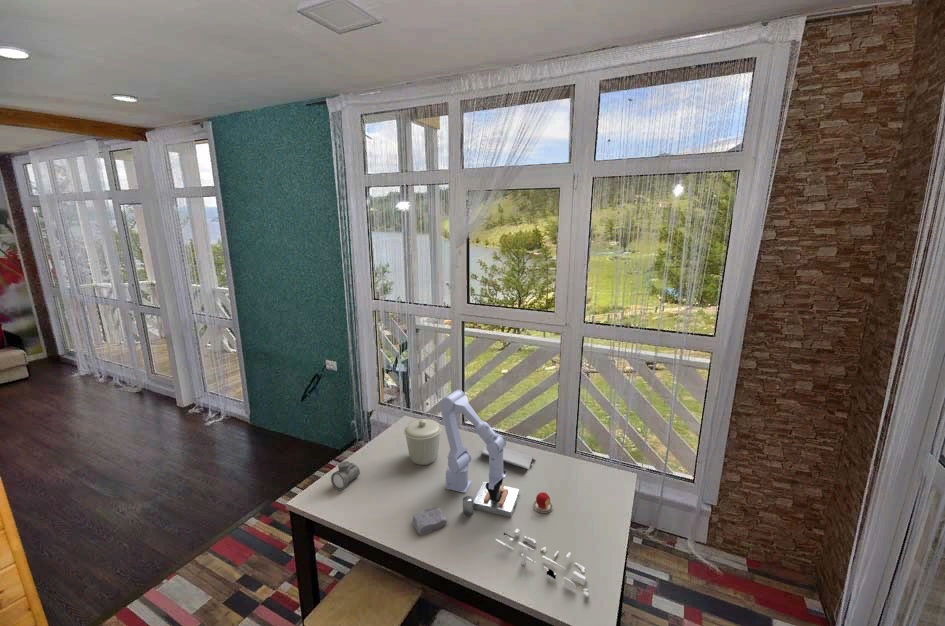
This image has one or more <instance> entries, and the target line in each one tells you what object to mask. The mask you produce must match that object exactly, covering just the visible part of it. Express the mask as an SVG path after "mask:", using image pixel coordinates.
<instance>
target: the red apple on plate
mask: <svg viewBox="0 0 945 626" xmlns="http://www.w3.org/2000/svg"><path fill="white" fill-rule="evenodd" d="M535 498H536V499H535V500H534V502H533V504H532V506H533V508H534V510H535V511H536V512H538V513H540V514H541V513H542V514H546V513H550V512H552V510H553V508H554V506H553V502H551V498H550V495H549V494H548V493H547V492H546V491H545V492H543V491H542V492H539V493H537V495H536V497H535Z"/></svg>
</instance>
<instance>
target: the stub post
mask: <svg viewBox="0 0 945 626" xmlns="http://www.w3.org/2000/svg"><path fill="white" fill-rule="evenodd" d="M474 500H475V498H474V497H473V496H471V495H466V496H463V498H462V514H463V516H465V517H471V516H473V515H474V513H475V511H474V510H475V508H474Z"/></svg>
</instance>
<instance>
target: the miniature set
mask: <svg viewBox="0 0 945 626" xmlns="http://www.w3.org/2000/svg"><path fill="white" fill-rule="evenodd" d="M513 534H514V535H516V536H518V535H521V528H519V527H517V526H516V527H515V530H514V533H513ZM503 535H504V536H505V537H506V538H508V540H509V542H511V543H513V541H515V538H514V537H513V536H511V535H509V534H508V533H506V532H503ZM495 541H497V542H498V543H500V544H502V545H503V546H504V547H506V548H508V549H510V550H512V551H514V550H515V548H514V547H512V546H510V545H509V544H508V542H504V541H502V540H500V539H497V538H495ZM522 541H523V542H525V543H527V544H529V545H531V546H532V547H534V548H535V547H536V545H537V540H536V539H535V538H530V537H529V536H527V535H523V539H522ZM523 542H521V541H520V540H519V541H518V542H517V544H519V545H520V546H522V547H523V552H522V553H521V554H520V557H521V565H523V566H526V562H527V561H529V562H532V564H535V563H537V561H535V559H534V558H533V559H531V557H529V556H528V551H529V549H530V550H531V551H535V549H533V548H532V547H531V546H530V547H529V546H528V545H526V544H525V543H523ZM540 552H542V553H543V554H545V553H546V552H547V547H546V546H544V547H542V548H541V549H540ZM559 553H560V551H559V550H557V551H556V552H555V553H554V555H553V558H556V557H557V556H558V554H559ZM571 557H572V553H571V552H570V551H569V552H568V553H567V554H566V556H565V560H566V561H569V559H570V558H571ZM541 559H544V560H545V561H548V562H550V563H552V564H554V565H557V566H559V567H561V568H563V569H564V570H567V568H566V567H565V566H562V565H560V564H559V563H557V562H556V561H554V560H553V559H551V558H549V557H547V556H546V555H542V556H541ZM574 565H575V566H576V567H578V569H580V570H581V572H582V573H583V574H581V573H579V572H578V571H576V570H574V571H573V572H572V576H571V580H570V579H569V578H567V577H566V576H565V577H564V576H563V577H562V579H564V581H563V582H562V583H561V584H562V585H563V586H564V587H567V588H568V589H570V590H572V591H573V590H576V589H577V586H576V584H575V582H576V583H578V584H580V585H581V586H585V584H586V581H587V576H585V575H584V574H585V573H586V571H585V570H586V566H585V567H584V566H583V565H581V564H580V563H577V562H574ZM543 569H544V570H546V574H545V575H546V576H549V577H551V578H553V580H556V579H557V578H556V577H557V573H556V572H554V570H553V569H551V568H548V567H546V566H543ZM573 581H574V582H573ZM582 591H583V592H582V595H583V596H584V597H585V598H588V597H589V595H590V593H589V589H588V588H583V589H582Z"/></svg>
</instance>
